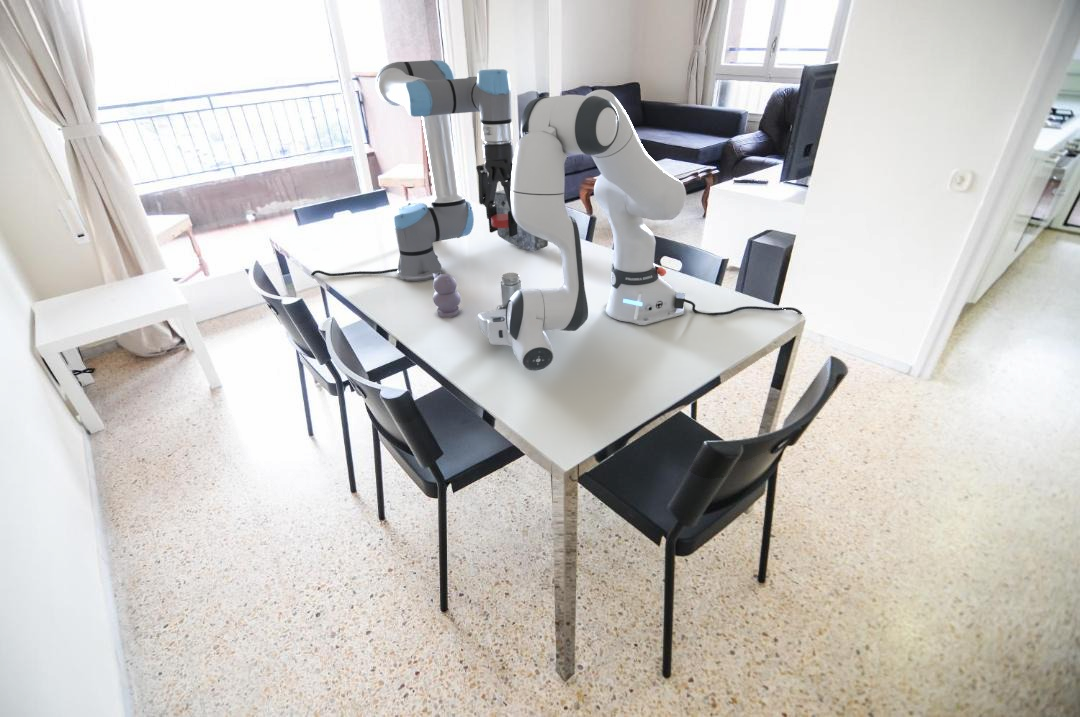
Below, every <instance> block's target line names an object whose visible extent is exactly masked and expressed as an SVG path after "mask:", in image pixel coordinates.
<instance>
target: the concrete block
mask: <svg viewBox="0 0 1080 717" xmlns="http://www.w3.org/2000/svg"><path fill="white" fill-rule="evenodd" d="M494 203H495V205H494V206H496V208H497V214H508V212H509V211H510V208H509V205H508V201H507V198H506V194H505V191H504V189H501V190H498V191H497V190H496V195H495V200H494ZM496 233H497V236H498V237H499V238H501V239H503V240H505V241H506V242H508V243H510V244H511V245H513V246H515V247H517V248H518V249H521V250H524V251H530V252H537V251H539V250H541V249H544V248H547V247H548V246H549V241H547V240H544V239H541V238H539V237H536V236H534V235H532V234H530V233H528V232H527V231H525V230H524V229H522V228H521V227H520V226H519V225H518V224H517V233H518V234H517V235H514V236H512V237H509V227H508V228H498V230H497V232H496Z"/></svg>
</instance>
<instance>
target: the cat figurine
mask: <svg viewBox="0 0 1080 717" xmlns="http://www.w3.org/2000/svg"><path fill="white" fill-rule="evenodd" d="M433 276H434V278H433V282H432V286H433V289H434V291H435V292H434V293H433V294H432V295H433V296H432V302H433V303H434V305H435V306H436V307H437V309H436V312H437V316H438V317H440V318H452V317H455V316H457V315H458V314H459V313H460V307H459V305H460V303H461V300H462V296H461V294H460V293H459V291H458V290H457V287H458V283H457V280H456V279H455V277H454V276H453V275H450V274H447V273H441V274H440V275H437V274H434V273H433Z"/></svg>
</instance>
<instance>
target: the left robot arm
mask: <svg viewBox="0 0 1080 717" xmlns="http://www.w3.org/2000/svg"><path fill="white" fill-rule="evenodd" d="M374 83H375V84H374V85H375V89H376V92H377V94H378V96H379V98H380V99H381V100H382V101H383V102H385V103H386V104H388V105H391V106H394V107H395V106H396V107H397V106H398V107H399V106H404V107H405V110H406V111H407V113H408V115H409V116H411V117H415V118H416V117H420V118H421V120H422V126H423V127H422V128H423V133H424V139H425V146H426V151H427V157H428V164H429V170H430V176H431V184H432V188H433V197H432V198H431V199H430V203H431V206H428V205H427V204H426V203H424V202H423V203H422V202H419V203H418V202H417V203H410V205H408V204H406V205H404V206H401V207H399V208H397V209H396V210H395V211H394V213H393V215H392V219H393V228H394V230H395V231H394V232H395V236H396V241H397V247H398V251H399V259H398V265H397V268H392V269H385V270H375V271H370V270H366V271H364V270H363V271H362V270H361V271H360V270H359V271H347V272H338V273H337V272H336V273H335V272H334V273H331V272H326V271H323V270H318V269H317V270H313V271H312V272H311V274H310V276H315V275H316V274H321V275H323V276H328V277H342V276H344V277H345V276H350V275H351V276H354V275H381V274H388V273H395V272H397V276H398V278H399V279H400V280H402V281H406V282H413V283H414V282H425V281H429V280H432V279H433V280H434V276H433V273H434V274H437V275H441V274H443V268H442V264H441V263H440V260H439V257H438V255H437V254H436V252H435V250H434V243H436V242H437V243H438V242H442V241H446V240H452V239H460V238H462V237H465V236H468V235H470V234H471V233H472V231H473V227H474V219H475V218H474V217H475V216H474V210H473V207H472V204H471V203H470V201H468V200H466V197H465V196H464V195H463V194H462V193H461V192H460V186H459V185H460V184H459V178H458V177H459V176H458V170H457V164H456V156H455V148H454V143H453V136H452V128H451V121H450V115H452V114H465V113H467V114H468V113H479V116H480V117H479V118H480V127H481V128H480V129H481V139H482V141H484V142H483V144H482V154H483V156H482V157H483V158H484V161H485V162H484V163H482V164H478V165H476V173H477V175H478V176H477V177H478V203H479V204H480V205H483V206H484V207H485V211H486V219H487V220H488V225H489V226H488V228H489V229H488V230H489V233H495V232H496V231H497V230H498V228H495V227H493V226H492V223H491V217H492V216H494V215H497V208H496V206H495V203H494V200H495V195H496V192H497V189H498V184H499V182H500V185H501V186H502V187H503V190H504V191H505V194H506V198H507V201H508V205H509V208H510V211H509V212H508V225H509V237H512V236H514V235H517V234H518V233H517V223H516V221H515V219H514V218H513V215H512V210H511V177H512V167H513V160H514V143H513V142H512V141H513V139H514V136H513V121H512V120H513V119H512V94H511V90H512V87H511V81H510V73H509V72H508V70H506V69H502V68H501V69H499V68H495V69H494V68H492V69H491V68H490V69H480V70H478V72H477V76H468V77H466V78H455V75H454V73H453V70H452V69H451V67H450V65H449V64H448V63H447V62H445V61H444V60H436V59H435V60H434V59H430V60H429V59H428V60H413V61H412V60H411V61H409V60H408V61H395V62H392V63H389V64H386V65H384V66H383V67H382V68H381V69H380V70H379V71H378V72H377V74H376V77H375V82H374Z"/></svg>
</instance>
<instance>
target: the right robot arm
mask: <svg viewBox="0 0 1080 717" xmlns="http://www.w3.org/2000/svg"><path fill="white" fill-rule="evenodd" d="M569 155H587V156H590V157H591V158H592V160H593V162H594V164H595V165H596V167H597V169H598V171H599V172H600V174H599V175H598V176H597V178H596V180H595V183H594V186H593V196H594V199H595V202H596V203H597V205H598V206H599V207H600V208H601V209H602V211H603V212H604V214H605V216H606V217H607V221H608V223H609V225H610V229H611V232H612V238H613V262H612V264H611V271H610V284H611V287H610V292H609V297H608V301H607V304H606V307H605V313H606V314H607V315H608V316H609V317H610V318H612V319H614V320H617V321H621V322H627V323H633V324H635V325H639V326H647V325H651V324H653V323H657V322H662V321H665V320H668V319H672V318H676V317H679V316H682V315H684V314H685V306H684V305H685V303H686V304H690V305H691V310H692V312H694V313H695V314H701V315H706V316H723V315H730V314H734V313H736V312H739V311H742V310H762V311H772V312H774V311H779V312H780V311H793V312H796V313H797V314H799V315H803V312H802V311H801V310H800V309H799V308H796V307H791V306H787V307H768V306H755V305H747V306H739V307H736V308H734V309H732V310H727V311H720V312H702V311H699V310H697V309H696V304H695V303H694V302H693V301H692V300H689V299H687V298H685V297H686V292H680V291H676V290H675V288H674V287H673V286H672V285H670V284H669V283H668V282H667V281H665V279H663V278H662V277H664V276H665V275H666V274H667V270H666V269H664V267H662V266H659V265H658V264H656V263H655V253H656V245H657V241H656V237H655V235H654V233H653V232H652V231H651V230H650V228H648V227H647V226H646V224H645V222H644V219H645V220H646V219H647V220H651V221H671V220H675V219H676V218H677V217H678V216H679V215H680V213H682V211H683V209H684V207H685V205H686V201H687V190H686V187H685V185H684V183H683V182H682V181H681V180H679V179H677V178H676V177H675V176H673V175H671V174H669V173H668V172H667V171H665V170H664V169H663V168H662V167H661V166H660V165H659V164H658V163H657V162H656V161H655V160H654V159H653V158H652V157H651V156H650V155H649V154H648V152H647V151H646V149H645V148H644V146H643V144H642V143H641V140H640V138H639V136H638V134H637V132H636V130H635V128H634V125H633V123H632V121H631V119H630V117H629V115H628V114H627V112H626V110H625V109H624V106H623V105H622V104H621V102H620V101H619V100H618V99H617V97H616V96H615V94H614V93H612V92H611V91H609V90H606V89H596V90H593V91H591V92H589V93H587V94H586V95H581V94H564V95H554V96H547V95H544V96H540V97H537V98H534V99H532V100H531V101H529V102H528V103H527V104H526V106H525V108H524V110H523V112H522V116H521V120H520V138H519V140H518V141H517V143H516V145H515V150H514V154H513V160H512V162H513V167H512V174H511V176H512V177H511V210H512V215H513V218H514V219H515V221H516V223H517V224H518V225H519V226H520V227H521V228H522V229H524V230H525V231H527V232H528V233H530V234H532V235H534V236H536V237H539V238H541V239H544V240H547V241H548V243H552V245H554V246H556V247H557V248H558V250H559V252H560V258H561V267H562V276H563V285H562V286H561V287H558V288H557V287H556V288H525V289H524V288H523V289H522V288H521V290H517V291H516V292H515V293H514V294H513V295H512V296H511V298H510V299H509V301H508V303H507V306H506V309H504V308H503V305H502V304H497V305H496V309H495V310H489V311H488V310H487V311H482V312H479V313H478V314H477V321H478V327H479V330H480V331H481V332H482V334H483V335H484V337H486V338H488V341H489V344H490V345H494V346H495V345H498V346H499V345H500V346H509V347H511V349H512V351H513V354H514V356H515V358H516V360H517V361H518V362H519V364H520V365H521V366H522V367H523V368H524V369H526V370H527V371H528V370H529V371H540V370H543V369H546V368H547V367H549V366H550V364H552V362H553V360H554V351H553V347H552V343H551V341H550V339H549V337H548V335H547V333H546V331H549V332H550V331H562V332H563V331H566V332H576V331H578V329H580V328H581V327H582V326H583V325H584V324H585V323H586V321H587V320H588V317H589V305H588V299H587V294H586V288H585V278H584V266H583V256H582V245H581V237H580V229H579V227H578V223H577V220H576V219H575V218H574V217H572V216H571V215H569V212H568V210H567V206H566V203H565V187H566V186H565V184H566V183H565V182H566V176H565V173H566V172H565V171H566V170H565V162H566V161H567V158H568V156H569ZM782 308H783V309H782ZM784 309H786V310H784Z"/></svg>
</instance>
